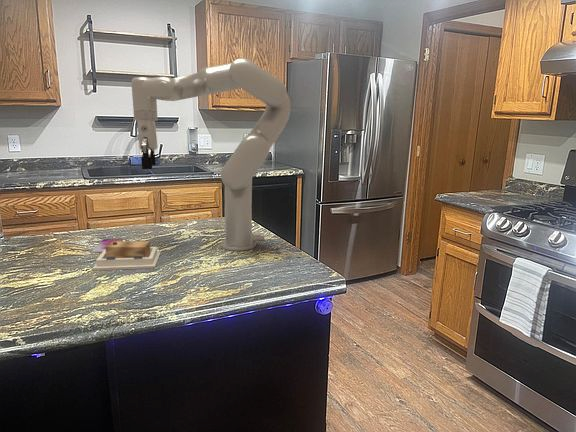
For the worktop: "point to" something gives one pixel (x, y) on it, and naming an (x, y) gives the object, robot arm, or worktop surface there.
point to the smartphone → (103, 245)
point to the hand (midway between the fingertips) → (149, 167)
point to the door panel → (128, 249)
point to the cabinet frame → (127, 261)
